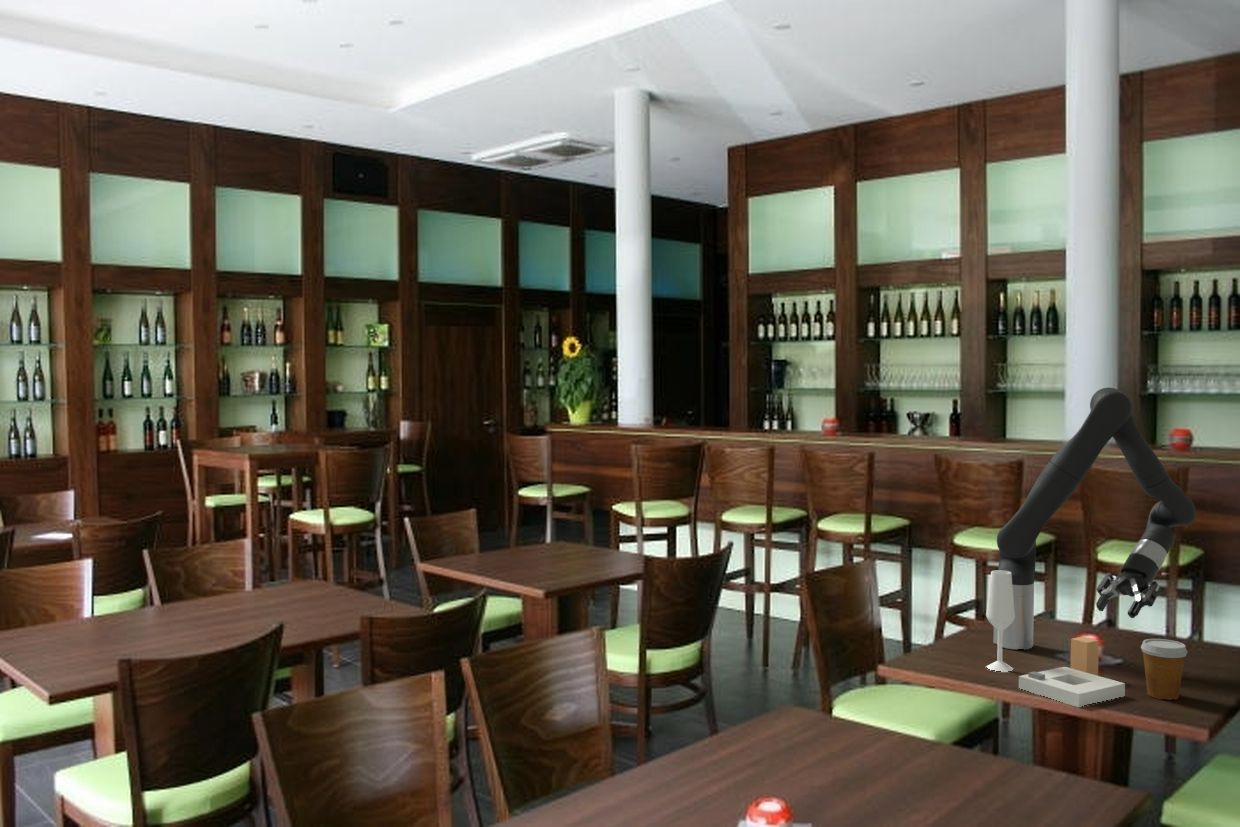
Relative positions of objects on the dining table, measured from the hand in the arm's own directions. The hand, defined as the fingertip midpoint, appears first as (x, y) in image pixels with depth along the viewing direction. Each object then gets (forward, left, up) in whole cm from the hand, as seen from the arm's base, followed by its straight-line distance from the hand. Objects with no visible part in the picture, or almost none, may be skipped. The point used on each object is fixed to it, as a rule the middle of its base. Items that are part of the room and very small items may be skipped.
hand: (1114, 612), depth 266 cm
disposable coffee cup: (+19, -9, -14) cm, 26 cm away
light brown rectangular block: (0, -11, -14) cm, 18 cm away
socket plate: (+7, -25, -14) cm, 30 cm away
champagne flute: (-15, -23, -14) cm, 31 cm away
